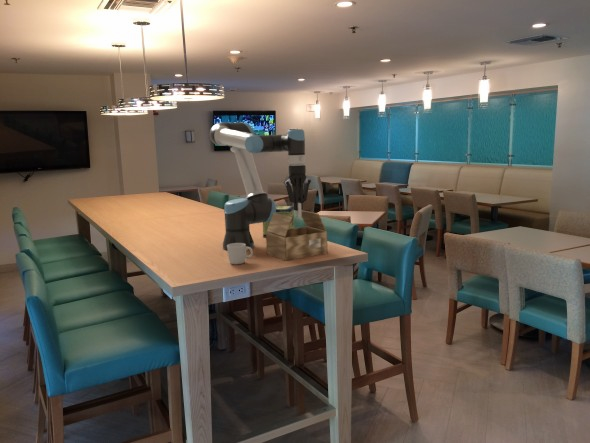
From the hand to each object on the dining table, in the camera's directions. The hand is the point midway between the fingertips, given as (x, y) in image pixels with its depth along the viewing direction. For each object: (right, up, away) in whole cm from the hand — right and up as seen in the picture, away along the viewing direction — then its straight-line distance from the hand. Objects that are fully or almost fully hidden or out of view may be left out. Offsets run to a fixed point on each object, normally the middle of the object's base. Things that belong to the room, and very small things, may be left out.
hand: (298, 217), depth 215 cm
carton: (-1, -16, +2) cm, 17 cm away
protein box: (-10, -10, +45) cm, 47 cm away
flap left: (-10, -8, -5) cm, 14 cm away
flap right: (+8, -5, +6) cm, 11 cm away
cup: (-25, -20, -12) cm, 34 cm away
